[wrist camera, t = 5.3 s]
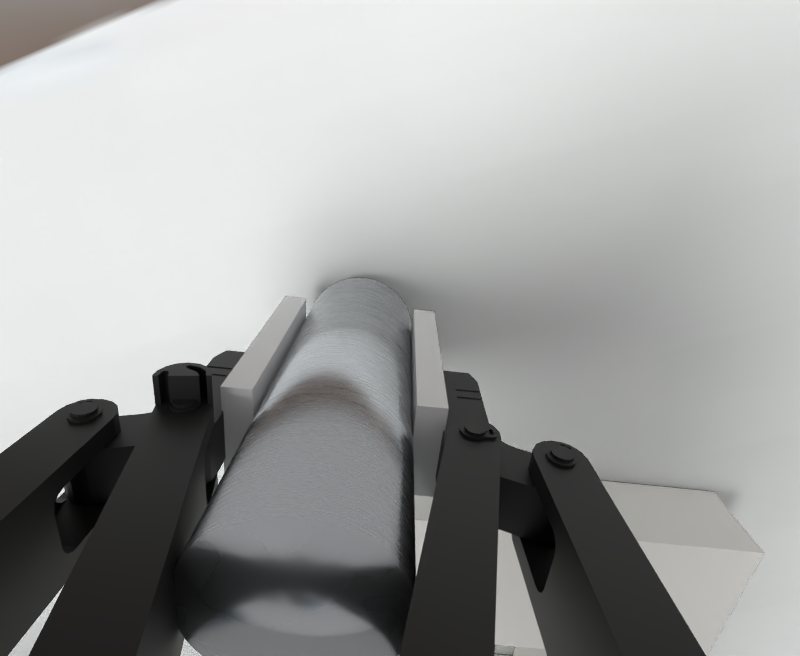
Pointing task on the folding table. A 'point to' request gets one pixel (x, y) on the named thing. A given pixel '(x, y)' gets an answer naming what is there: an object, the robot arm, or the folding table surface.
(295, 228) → the folding table surface
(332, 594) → the steel pin
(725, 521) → the socket block
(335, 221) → the folding table surface
